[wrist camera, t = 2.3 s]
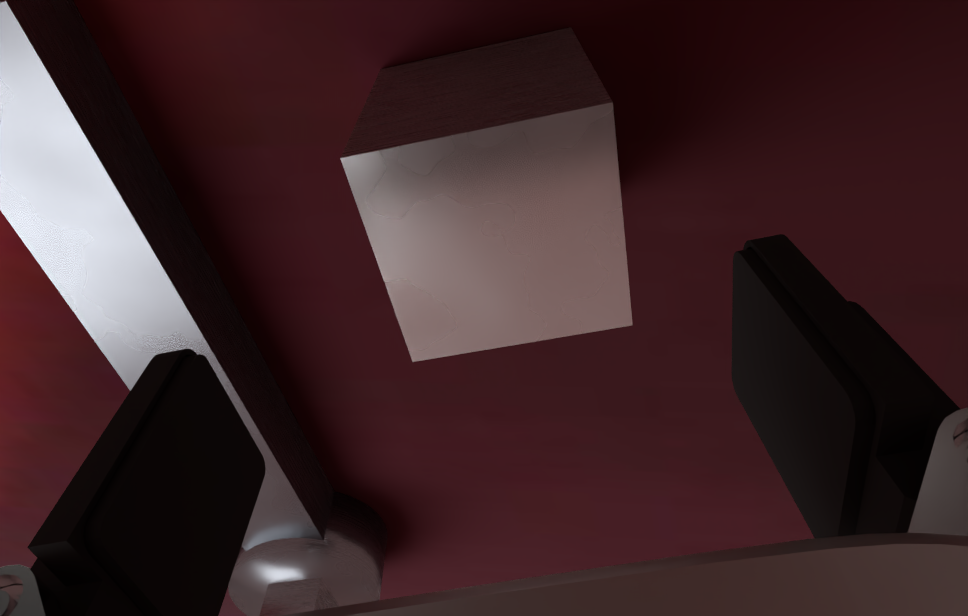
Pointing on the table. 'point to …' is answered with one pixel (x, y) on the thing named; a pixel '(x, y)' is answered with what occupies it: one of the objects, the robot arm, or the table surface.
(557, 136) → the pale grey cube
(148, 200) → the ratchet
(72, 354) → the table surface
